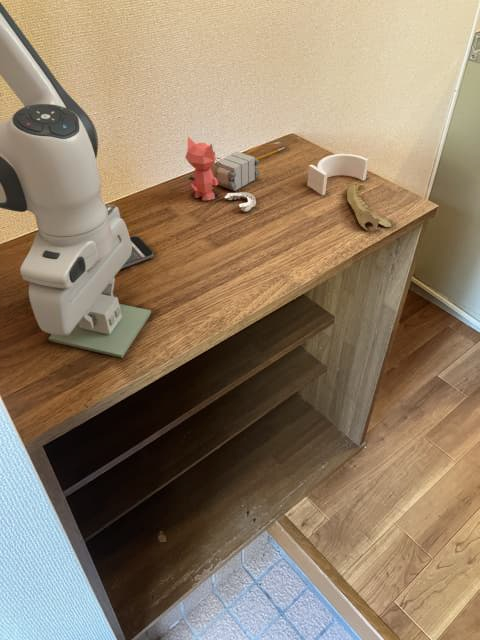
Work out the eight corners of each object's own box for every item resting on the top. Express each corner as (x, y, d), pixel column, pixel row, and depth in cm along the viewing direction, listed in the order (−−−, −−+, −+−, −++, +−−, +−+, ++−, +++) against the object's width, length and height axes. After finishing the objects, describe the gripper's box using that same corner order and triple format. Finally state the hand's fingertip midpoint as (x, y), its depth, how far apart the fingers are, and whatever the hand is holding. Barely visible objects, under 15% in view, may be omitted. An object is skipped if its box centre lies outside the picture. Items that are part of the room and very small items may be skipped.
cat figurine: (227, 194, 108) (225, 138, 99) (206, 208, 104) (202, 151, 95) (201, 184, 111) (197, 129, 103) (179, 198, 107) (173, 141, 99)
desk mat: (49, 340, 77) (48, 338, 77) (83, 298, 84) (82, 296, 84) (122, 358, 74) (121, 355, 74) (151, 313, 81) (151, 310, 81)
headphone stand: (324, 175, 104) (369, 159, 109) (305, 163, 108) (349, 148, 113) (322, 195, 107) (365, 179, 112) (304, 183, 111) (346, 168, 116)
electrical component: (301, 133, 118) (299, 155, 121) (279, 127, 121) (279, 148, 124) (232, 170, 104) (233, 193, 108) (210, 162, 107) (211, 185, 111)
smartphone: (57, 262, 90) (136, 234, 96) (58, 265, 90) (137, 238, 96) (72, 284, 85) (154, 254, 91) (73, 287, 86) (155, 257, 92)
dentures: (243, 187, 108) (243, 194, 108) (223, 194, 106) (223, 201, 106) (263, 200, 103) (263, 206, 104) (243, 207, 101) (243, 214, 102)
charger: (80, 328, 78) (73, 308, 75) (93, 310, 81) (87, 291, 78) (111, 335, 77) (106, 315, 74) (124, 317, 79) (119, 297, 77)
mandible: (396, 226, 97) (385, 240, 99) (362, 182, 109) (353, 195, 111) (374, 216, 95) (363, 230, 96) (342, 172, 106) (333, 185, 108)
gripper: (95, 194, 76) (112, 270, 86) (10, 278, 62) (42, 357, 71) (134, 201, 75) (147, 276, 84) (57, 288, 60) (83, 367, 70)
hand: (98, 314), depth 78 cm, fingers closed on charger, 4 cm apart
